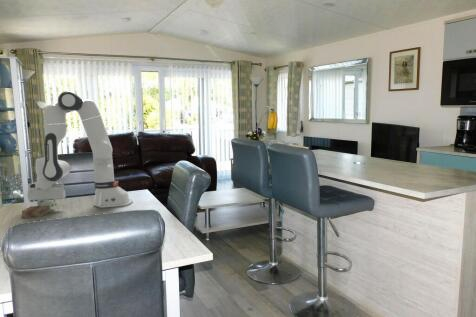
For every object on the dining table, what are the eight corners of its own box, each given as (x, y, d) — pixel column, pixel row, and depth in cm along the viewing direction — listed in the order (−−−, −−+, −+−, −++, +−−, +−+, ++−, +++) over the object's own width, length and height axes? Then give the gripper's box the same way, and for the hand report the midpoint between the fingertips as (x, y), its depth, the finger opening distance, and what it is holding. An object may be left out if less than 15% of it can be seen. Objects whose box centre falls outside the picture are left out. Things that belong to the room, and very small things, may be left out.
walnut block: (49, 212, 208) (49, 205, 207) (41, 217, 198) (40, 210, 197) (31, 213, 207) (31, 206, 207) (22, 218, 197) (21, 210, 197)
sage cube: (54, 208, 215) (53, 200, 215) (50, 210, 210) (50, 202, 210) (45, 208, 215) (45, 200, 214) (41, 211, 210) (41, 202, 209)
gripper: (66, 181, 214) (68, 204, 216) (30, 183, 213) (33, 206, 215) (61, 183, 208) (64, 207, 210) (25, 185, 207) (27, 209, 209)
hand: (48, 207), depth 212 cm, fingers closed on sage cube, 5 cm apart
